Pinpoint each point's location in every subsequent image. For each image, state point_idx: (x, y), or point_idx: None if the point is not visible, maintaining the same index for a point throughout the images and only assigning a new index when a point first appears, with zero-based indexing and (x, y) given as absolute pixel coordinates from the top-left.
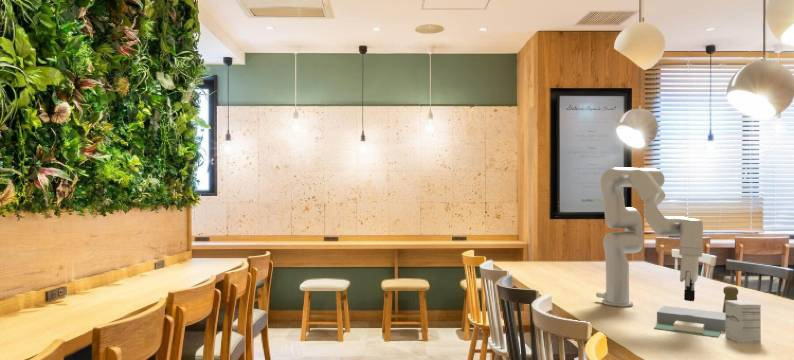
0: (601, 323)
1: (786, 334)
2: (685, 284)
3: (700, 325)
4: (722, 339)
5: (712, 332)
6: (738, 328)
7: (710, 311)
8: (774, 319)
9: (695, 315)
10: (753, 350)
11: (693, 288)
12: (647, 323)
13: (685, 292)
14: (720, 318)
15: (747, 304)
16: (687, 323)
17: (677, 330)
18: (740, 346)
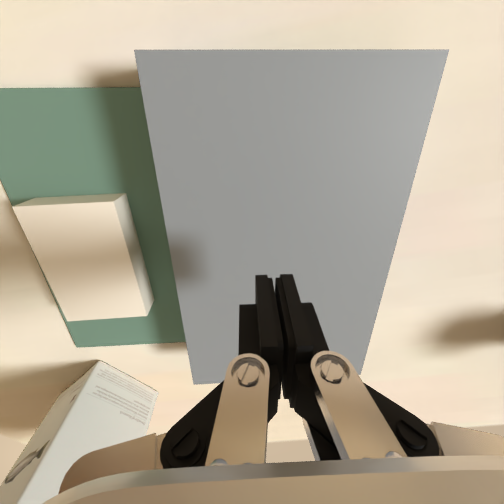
0: None
1: (281, 440)
2: (209, 442)
3: (102, 309)
4: (64, 356)
5: (131, 326)
6: (31, 439)
7: (365, 322)
8: (482, 408)
9: (207, 289)
10: (8, 419)
11: (303, 419)
12: (78, 6)
13: (260, 329)
14: (216, 370)
15: None
16: (92, 261)
17: None
18: (20, 397)
